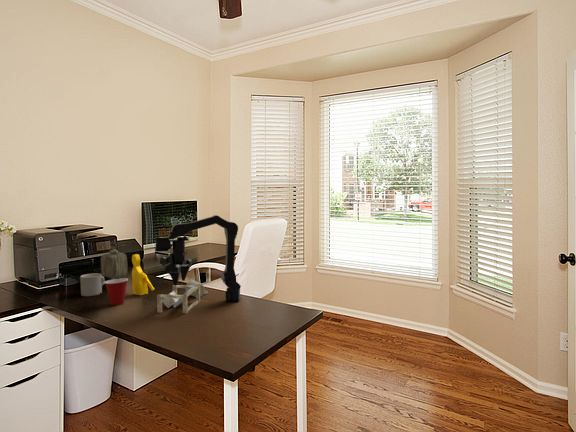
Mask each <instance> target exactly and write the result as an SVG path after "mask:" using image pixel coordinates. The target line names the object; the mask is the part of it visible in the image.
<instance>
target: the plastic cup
mask: <svg viewBox="0 0 576 432" xmlns="http://www.w3.org/2000/svg"><path fill="white" fill-rule="evenodd" d="M128 281H129V278H127V277H126V278H125V277H123V278H115V279H113V280H111V279H108V280H105V282H104V285H105V288H106V291H107V295H108V299H109V304H110V305H111V306H113V305H115V306H120V305H123V304H124V303H125V298H126V292H127V291H126V290H127V285H128Z"/></svg>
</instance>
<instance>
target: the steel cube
mask: <svg viewBox="0 0 576 432" xmlns="http://www.w3.org/2000/svg"><path fill="white" fill-rule="evenodd" d="M167 295H178V293H177V294H176V293H175V292H174V291H173V290H172V292H170V293H168V294H167ZM178 299H179V298H164V297H162V304H164V305H165V306H166V308H167V309H169V308H171V307H173V306H174V304H175V303H176V302H177V301H178Z"/></svg>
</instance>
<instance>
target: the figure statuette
mask: <svg viewBox="0 0 576 432" xmlns="http://www.w3.org/2000/svg"><path fill="white" fill-rule="evenodd" d="M131 262H132V265H133V267H132V270H131V277H132V284H131V288H132V294H133V295H137V296H143V295H148V294H149V289H150V291H151V292H152V291H154V290H155V287H153V284H152V283H151V281H150V280H149V278H148V276H147V274H146V273H144V272H143V269H142V267H141V257H140V254H138V253H135V254H132V256H131ZM148 287H149V288H148Z"/></svg>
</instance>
